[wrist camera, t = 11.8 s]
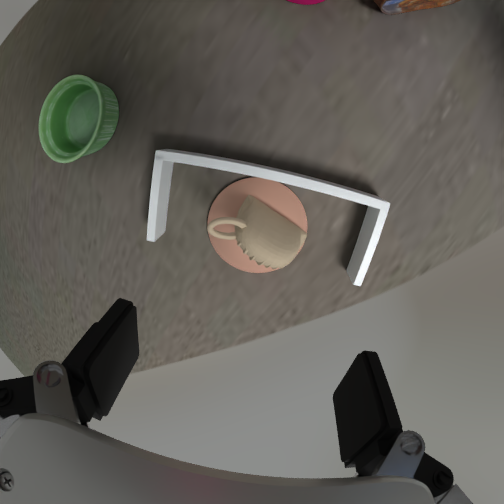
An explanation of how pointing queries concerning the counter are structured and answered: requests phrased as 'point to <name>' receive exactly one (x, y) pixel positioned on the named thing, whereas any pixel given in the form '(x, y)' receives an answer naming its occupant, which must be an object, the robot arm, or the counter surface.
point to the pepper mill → (306, 1)
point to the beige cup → (262, 234)
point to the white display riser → (375, 204)
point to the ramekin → (77, 118)
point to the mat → (229, 206)
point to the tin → (409, 5)
